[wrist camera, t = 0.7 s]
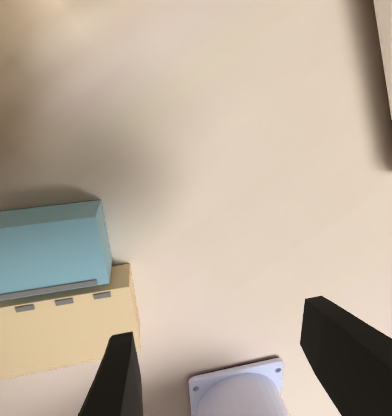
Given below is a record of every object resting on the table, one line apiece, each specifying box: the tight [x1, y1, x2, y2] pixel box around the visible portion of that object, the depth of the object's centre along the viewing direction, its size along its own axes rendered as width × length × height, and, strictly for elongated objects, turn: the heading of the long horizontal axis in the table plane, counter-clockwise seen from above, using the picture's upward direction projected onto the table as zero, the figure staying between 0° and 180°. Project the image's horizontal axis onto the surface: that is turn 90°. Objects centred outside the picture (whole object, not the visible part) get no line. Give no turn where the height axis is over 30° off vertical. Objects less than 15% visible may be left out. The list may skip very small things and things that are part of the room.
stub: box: [0, 200, 112, 301], centre depth 16 cm, size 4×6×2 cm, turn 94°
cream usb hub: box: [0, 264, 141, 380], centre depth 17 cm, size 5×11×2 cm, turn 94°
